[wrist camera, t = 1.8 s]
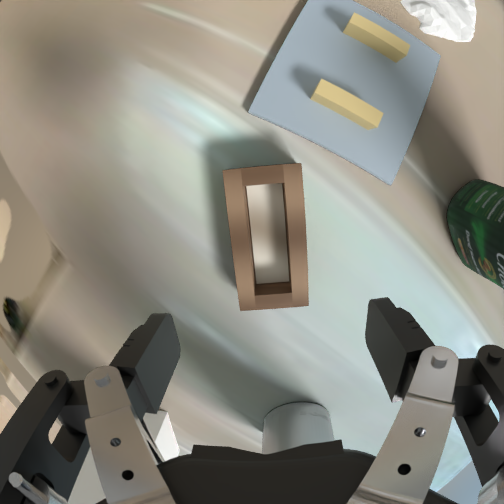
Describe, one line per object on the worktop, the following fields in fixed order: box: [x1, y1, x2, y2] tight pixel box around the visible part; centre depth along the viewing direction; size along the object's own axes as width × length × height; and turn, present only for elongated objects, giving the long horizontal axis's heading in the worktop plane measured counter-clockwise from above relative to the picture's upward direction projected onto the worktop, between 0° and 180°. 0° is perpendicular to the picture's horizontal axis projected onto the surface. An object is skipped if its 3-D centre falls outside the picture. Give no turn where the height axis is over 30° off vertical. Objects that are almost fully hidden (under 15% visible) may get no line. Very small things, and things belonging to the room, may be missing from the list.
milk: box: [68, 410, 180, 504], centre depth 24 cm, size 12×12×26 cm
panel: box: [248, 0, 441, 185], centre depth 19 cm, size 16×14×3 cm
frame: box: [223, 163, 309, 311], centre depth 24 cm, size 12×6×3 cm, turn 6°
